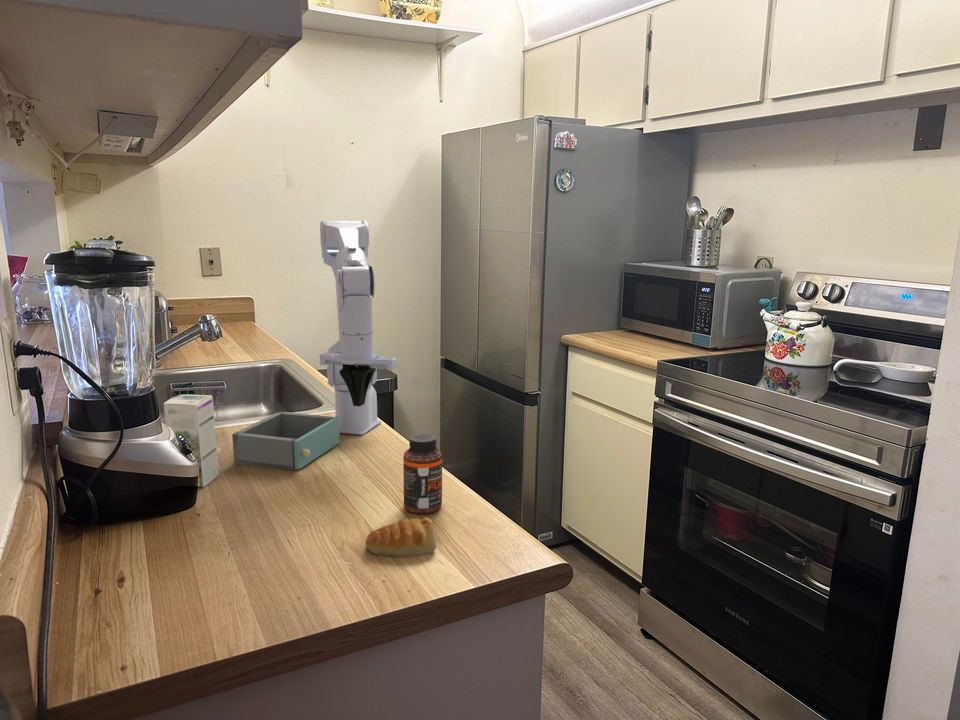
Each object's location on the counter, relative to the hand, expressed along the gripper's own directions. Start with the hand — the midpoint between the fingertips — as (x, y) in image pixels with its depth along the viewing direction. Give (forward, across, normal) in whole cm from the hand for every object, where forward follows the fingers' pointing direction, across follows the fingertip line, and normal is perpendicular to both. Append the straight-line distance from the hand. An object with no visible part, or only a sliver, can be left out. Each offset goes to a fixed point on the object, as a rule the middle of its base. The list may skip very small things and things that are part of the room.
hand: (358, 404), depth 126 cm
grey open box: (+9, -13, -4) cm, 17 cm away
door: (+9, -6, -4) cm, 12 cm away
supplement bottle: (+10, +20, -19) cm, 29 cm away
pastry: (+10, +22, -31) cm, 40 cm away
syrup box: (+10, -20, -21) cm, 31 cm away
